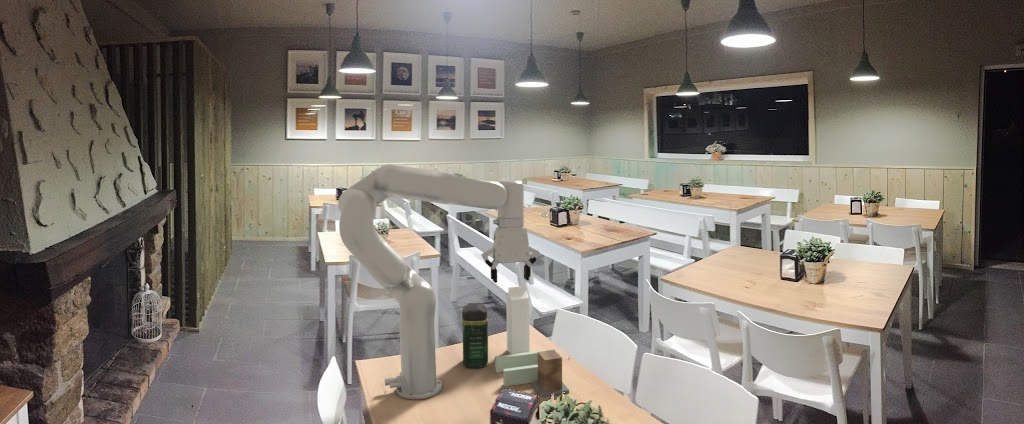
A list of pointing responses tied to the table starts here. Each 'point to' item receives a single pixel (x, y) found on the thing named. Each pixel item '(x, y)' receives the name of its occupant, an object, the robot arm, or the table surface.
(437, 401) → the table surface
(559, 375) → the walnut block
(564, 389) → the coaster
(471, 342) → the coffee jar
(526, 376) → the pale green u-shaped bracket
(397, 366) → the table surface
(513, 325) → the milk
